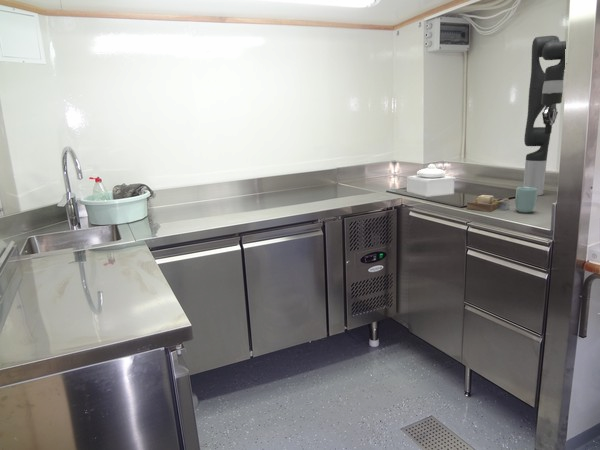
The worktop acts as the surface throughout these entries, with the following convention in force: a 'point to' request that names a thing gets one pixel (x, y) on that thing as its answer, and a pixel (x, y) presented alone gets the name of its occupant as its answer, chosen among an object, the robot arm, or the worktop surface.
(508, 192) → the worktop surface
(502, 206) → the block
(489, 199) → the block
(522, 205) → the cup
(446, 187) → the butter dish
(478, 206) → the beam rails
